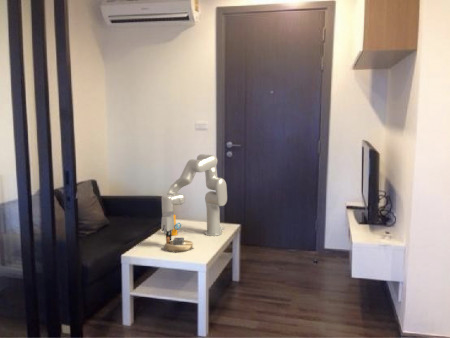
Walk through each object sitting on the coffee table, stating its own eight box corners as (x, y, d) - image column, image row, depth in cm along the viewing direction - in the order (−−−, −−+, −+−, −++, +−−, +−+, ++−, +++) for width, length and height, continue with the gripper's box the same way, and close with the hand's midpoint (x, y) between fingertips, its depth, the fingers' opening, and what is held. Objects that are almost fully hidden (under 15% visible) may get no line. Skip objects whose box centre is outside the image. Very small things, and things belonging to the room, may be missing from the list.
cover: (175, 242, 285) (175, 237, 285) (184, 242, 285) (184, 237, 284) (173, 245, 279) (173, 240, 279) (182, 245, 279) (182, 240, 278)
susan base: (182, 243, 293) (182, 243, 293) (193, 248, 282) (193, 248, 282) (164, 247, 284) (164, 247, 284) (175, 253, 273) (175, 252, 273)
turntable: (171, 242, 294) (171, 233, 293) (196, 244, 289) (196, 235, 288) (160, 250, 277) (160, 240, 276) (186, 252, 272) (186, 242, 271)
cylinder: (177, 237, 308) (177, 217, 306) (163, 236, 310) (163, 216, 308) (182, 232, 320) (182, 213, 318) (169, 232, 322) (168, 212, 320)
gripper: (168, 210, 294) (169, 236, 296) (157, 215, 280) (158, 242, 283) (178, 211, 291) (179, 237, 293) (167, 216, 277) (168, 244, 280)
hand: (168, 240), depth 288 cm, fingers closed
